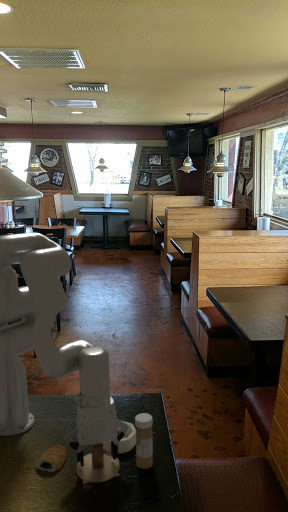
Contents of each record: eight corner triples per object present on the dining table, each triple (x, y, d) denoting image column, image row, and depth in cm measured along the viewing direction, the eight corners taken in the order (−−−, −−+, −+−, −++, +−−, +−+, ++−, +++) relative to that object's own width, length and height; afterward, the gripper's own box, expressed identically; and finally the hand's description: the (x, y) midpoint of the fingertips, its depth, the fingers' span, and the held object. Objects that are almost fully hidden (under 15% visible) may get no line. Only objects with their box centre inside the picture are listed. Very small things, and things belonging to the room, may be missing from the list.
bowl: (104, 458, 112) (103, 444, 111) (97, 437, 121) (96, 424, 121) (139, 450, 115) (139, 437, 114) (130, 430, 124) (129, 418, 123)
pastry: (50, 449, 116) (50, 437, 116) (73, 453, 115) (72, 440, 114) (34, 471, 107) (33, 458, 107) (58, 475, 106) (57, 462, 105)
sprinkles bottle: (135, 459, 111) (134, 413, 109) (152, 458, 111) (151, 411, 109) (136, 470, 106) (135, 422, 104) (154, 469, 107) (153, 421, 105)
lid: (80, 487, 100) (79, 461, 99) (73, 459, 111) (72, 436, 110) (124, 477, 104) (123, 452, 103) (113, 451, 114) (113, 428, 113)
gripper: (62, 409, 98) (65, 476, 101) (132, 397, 103) (134, 461, 106) (58, 395, 105) (62, 458, 108) (125, 384, 110) (126, 445, 113)
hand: (97, 459), depth 107 cm, fingers open, 7 cm apart
